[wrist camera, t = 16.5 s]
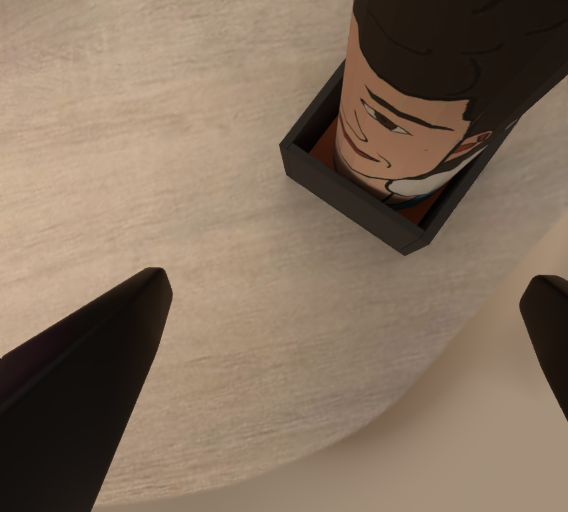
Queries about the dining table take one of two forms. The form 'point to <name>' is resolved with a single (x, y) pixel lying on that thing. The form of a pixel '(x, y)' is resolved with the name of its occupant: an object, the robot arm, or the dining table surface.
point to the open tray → (355, 201)
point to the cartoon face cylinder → (439, 86)
